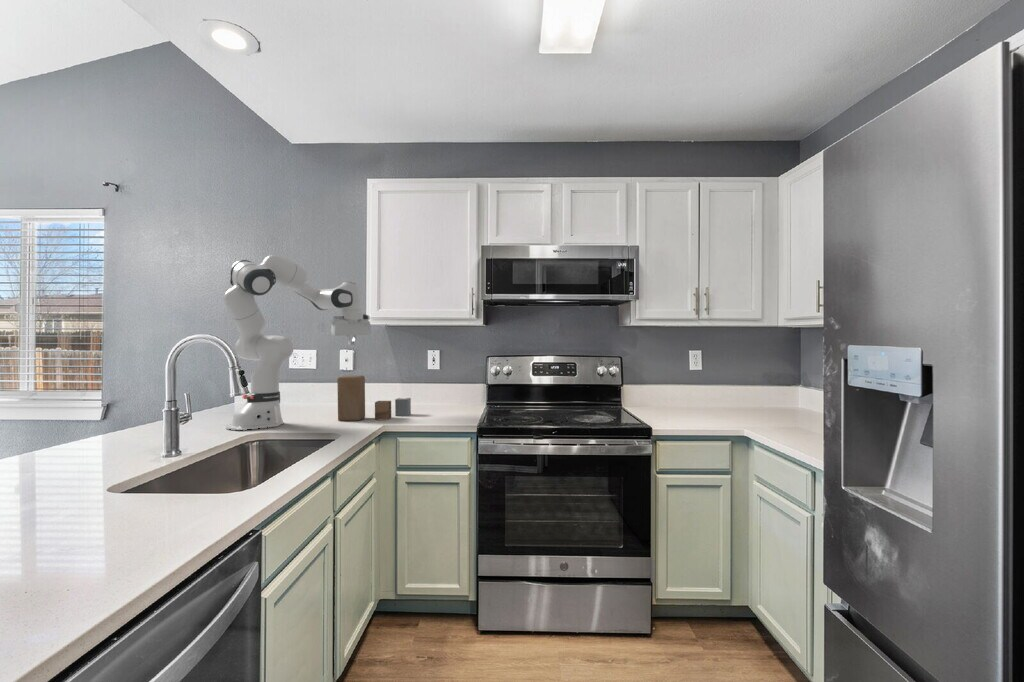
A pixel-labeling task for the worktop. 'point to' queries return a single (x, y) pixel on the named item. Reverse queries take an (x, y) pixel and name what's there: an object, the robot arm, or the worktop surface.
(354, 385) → the block
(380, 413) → the brown upright block
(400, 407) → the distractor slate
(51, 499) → the worktop surface
